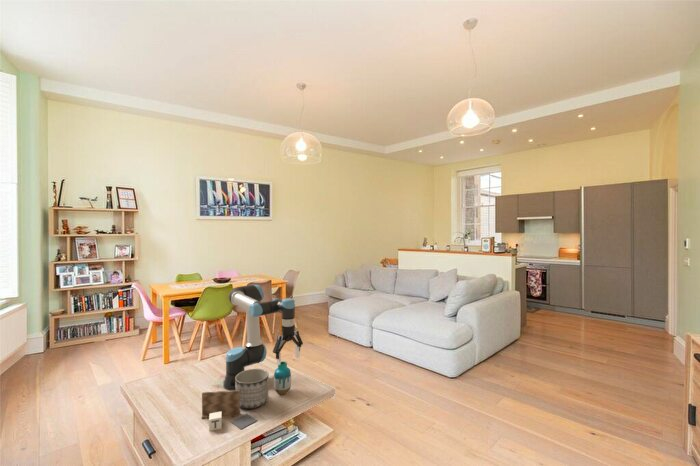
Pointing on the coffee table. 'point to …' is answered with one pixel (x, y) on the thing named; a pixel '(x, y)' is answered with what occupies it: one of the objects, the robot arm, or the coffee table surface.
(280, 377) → the vase
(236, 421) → the mat
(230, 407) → the walnut screen
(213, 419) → the cream cube
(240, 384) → the planter
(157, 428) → the coffee table surface
